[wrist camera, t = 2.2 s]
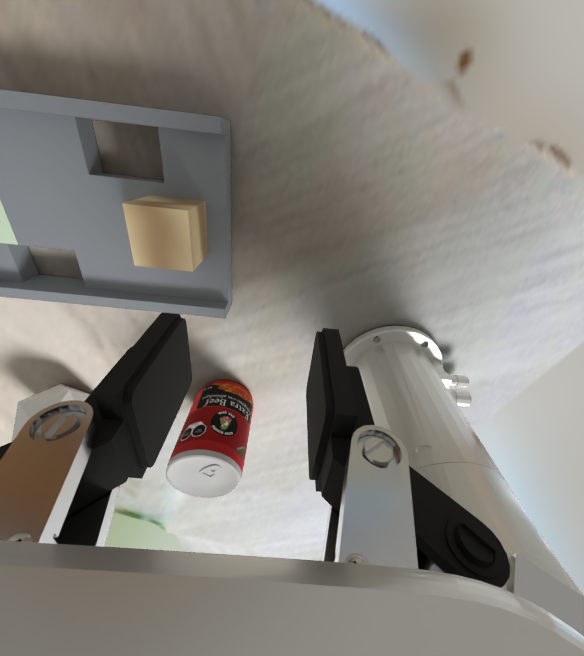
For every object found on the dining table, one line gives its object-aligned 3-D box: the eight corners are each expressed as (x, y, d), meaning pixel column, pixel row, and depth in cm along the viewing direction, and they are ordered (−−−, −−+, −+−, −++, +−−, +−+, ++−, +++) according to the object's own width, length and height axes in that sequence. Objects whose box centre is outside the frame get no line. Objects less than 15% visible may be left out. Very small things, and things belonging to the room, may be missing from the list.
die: (122, 417, 42) (97, 439, 33) (61, 452, 40) (16, 487, 31) (91, 369, 41) (57, 379, 32) (27, 402, 39) (-30, 423, 30)
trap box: (230, 121, 22) (215, 114, 18) (232, 302, 31) (221, 326, 27) (-116, 78, 21) (-218, 60, 17) (-17, 277, 30) (-69, 298, 26)
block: (205, 201, 24) (187, 210, 20) (208, 254, 26) (192, 271, 22) (150, 195, 24) (122, 203, 20) (158, 248, 26) (134, 265, 22)
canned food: (263, 390, 38) (252, 469, 28) (240, 426, 42) (223, 505, 32) (208, 369, 36) (177, 445, 27) (189, 408, 40) (156, 487, 30)
